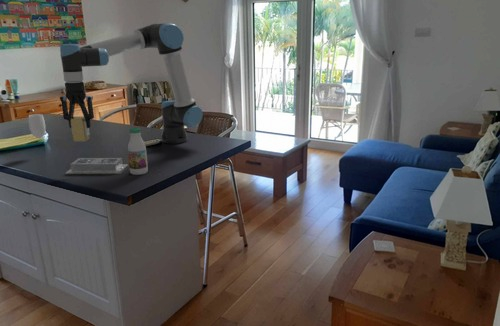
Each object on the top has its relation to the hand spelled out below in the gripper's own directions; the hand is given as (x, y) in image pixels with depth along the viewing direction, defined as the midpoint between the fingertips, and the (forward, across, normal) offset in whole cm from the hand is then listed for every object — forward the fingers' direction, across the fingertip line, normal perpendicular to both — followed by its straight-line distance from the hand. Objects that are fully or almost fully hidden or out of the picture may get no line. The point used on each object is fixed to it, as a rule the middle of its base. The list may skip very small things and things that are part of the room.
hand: (81, 134), depth 178 cm
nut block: (+2, 0, 0) cm, 2 cm away
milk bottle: (+16, -25, +4) cm, 30 cm away
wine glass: (+16, +32, -23) cm, 42 cm away
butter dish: (+16, -5, 0) cm, 17 cm away
